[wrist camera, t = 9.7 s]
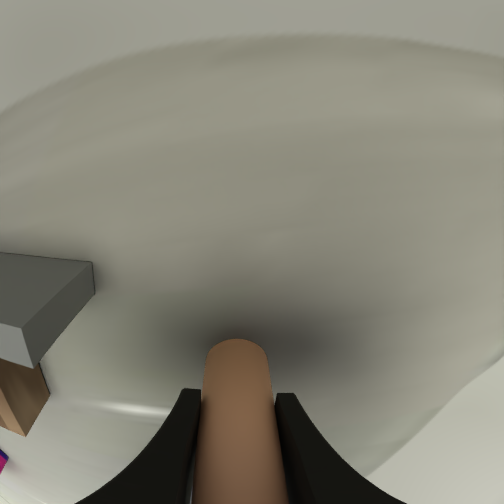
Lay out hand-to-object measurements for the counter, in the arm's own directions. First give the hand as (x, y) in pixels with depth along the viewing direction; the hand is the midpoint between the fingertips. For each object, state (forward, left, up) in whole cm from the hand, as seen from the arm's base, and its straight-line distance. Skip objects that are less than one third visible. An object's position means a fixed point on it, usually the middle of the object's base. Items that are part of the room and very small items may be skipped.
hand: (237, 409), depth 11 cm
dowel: (0, 0, -3) cm, 3 cm away
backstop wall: (+3, +16, -4) cm, 17 cm away
